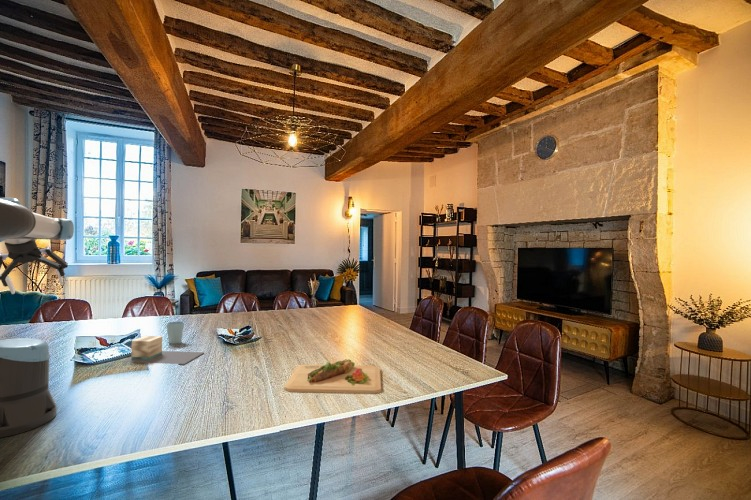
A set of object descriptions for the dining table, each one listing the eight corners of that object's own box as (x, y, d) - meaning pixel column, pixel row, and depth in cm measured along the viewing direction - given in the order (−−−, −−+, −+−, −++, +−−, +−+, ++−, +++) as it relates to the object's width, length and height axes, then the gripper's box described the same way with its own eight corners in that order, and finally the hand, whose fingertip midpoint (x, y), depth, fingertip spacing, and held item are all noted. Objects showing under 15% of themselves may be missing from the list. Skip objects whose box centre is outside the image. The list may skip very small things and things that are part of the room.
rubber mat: (204, 353, 150) (204, 352, 150) (183, 365, 135) (184, 363, 135) (146, 351, 151) (146, 350, 151) (120, 362, 136) (120, 361, 136)
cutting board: (379, 370, 136) (380, 352, 136) (381, 395, 113) (381, 374, 113) (298, 368, 136) (298, 351, 136) (282, 393, 113) (283, 372, 113)
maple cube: (161, 353, 147) (162, 336, 147) (149, 359, 139) (149, 341, 139) (145, 353, 148) (145, 335, 148) (131, 359, 140) (131, 340, 140)
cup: (163, 345, 161) (163, 324, 161) (170, 340, 169) (171, 321, 169) (179, 345, 162) (179, 324, 162) (186, 340, 170) (186, 321, 170)
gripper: (65, 230, 126) (80, 275, 136) (-32, 241, 111) (-8, 291, 121) (65, 238, 122) (80, 284, 131) (-37, 250, 106) (-11, 301, 116)
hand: (38, 287), depth 126 cm, fingers open, 13 cm apart
